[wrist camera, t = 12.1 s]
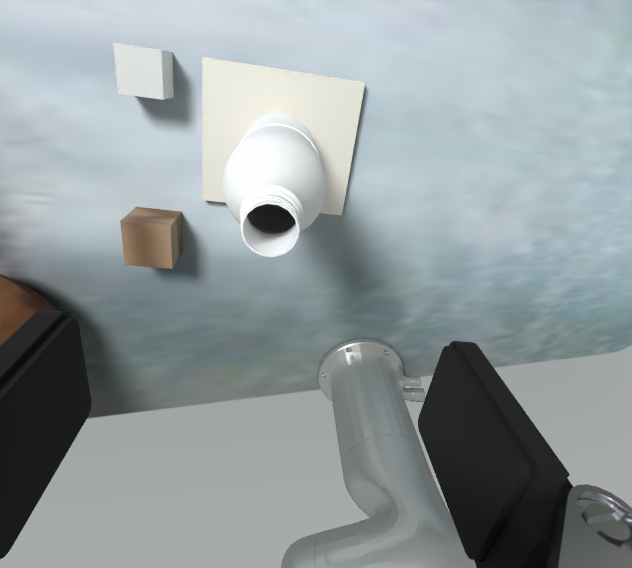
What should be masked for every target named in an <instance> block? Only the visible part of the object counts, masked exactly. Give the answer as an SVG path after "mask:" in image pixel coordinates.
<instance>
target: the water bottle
mask: <svg viewBox="0 0 632 568" xmlns="http://www.w3.org/2000/svg"><path fill="white" fill-rule="evenodd" d="M326 191H327V181H326V174H325V170H324V167H323V164H322V163H321V160H320V156H319V153H318V150H317V148H316V146H315V143H314V139H313V137H312V135H311V132H310V131H309V129H308V128H307V126H306V125H305V124H304V123H303V122H302V121H300V120H299V119H298V118H296V117H295V116H292V115H290V114H286V113H278V112H277V113H270V114H267V115H264V116H262V117H260V118H259V119H257V120H256V121H255V122H254V123H253V124H252V125H251V127H250V128H249V129H248V131H247V133H246V135H245V137H244V138H243V139H242V141H241V142H240V143H239V144H238V146H237V148H236V149H235V150H234V151H233V152H232V154H231V156H230V157H229V159H228V161H227V164H226V166H225V170H224V174H223V194H224V197H225V201H226V204H227V206H228V209H229V211H230V213H231V214H232V215H233V217H234V218H235V220H236V221H237V222H238V223H239V224H240V225H241V234H242V236H243V239H244V242H245V243H246V245H247V246H248V247H249V248H250V249H251V250H252V251H254V252H256V253H258V254H260V255H262V256H269V257H275V256H279V255H283V254H285V253H286V252H288V251H289V250H290V249H292V248H293V247H294V245H295V244H296V242H297V241H298V238H299V234H300V232H302V231H304V230H305V229H307V228H308V227H309V226H310V225H311V224H312V223H313V222H314V221H315V219H316V218H317V217H318V215H319V213H320V211H321V210H322V208H323V205H324V202H325V199H326Z"/></svg>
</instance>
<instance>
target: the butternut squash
mask: <svg viewBox="0 0 632 568" xmlns="http://www.w3.org/2000/svg"><path fill="white" fill-rule="evenodd" d="M39 310H47V311H58V310H57V309H56V307H55V306H54V305H53V304H52V303H51V302H50V301H48V300H47V299H45V298H44V297H43V296H41V295H40V294H38V293H37V292H35V291H34V290H33V289H31V288H29V287H27V286H25V285H23V284H21V283H19V282H17V281H14V280H12V279H10V278H8V277H6V276H3V275H1V274H0V346H1V345H2V344H3V343H4V342H5V341H6V340H7V339H8V338H9V337H10V336H11V335H13V334H14V333H15V332H16V331H17V330H18V329H19V328H20V327H21V326H22V325H23V324H24V323H25V322H26V321H27V320H28V319H30V318H31V317H32V316H33V315H34V314H35V313H36V312H38V311H39Z"/></svg>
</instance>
